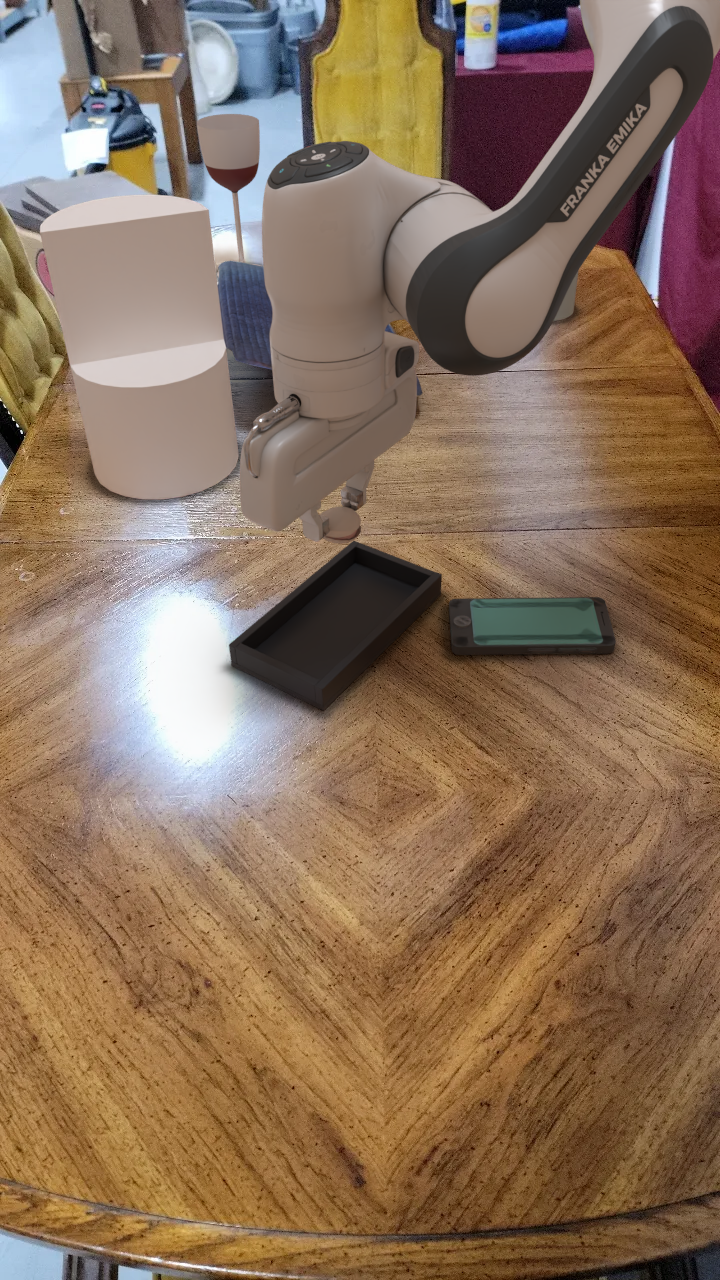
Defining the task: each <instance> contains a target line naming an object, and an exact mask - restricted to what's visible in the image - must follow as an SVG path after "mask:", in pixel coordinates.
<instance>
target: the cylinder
mask: <svg viewBox="0 0 720 1280" xmlns="http://www.w3.org/2000/svg"><path fill="white" fill-rule="evenodd" d="M211 226H212V225H211V218H210V209H209V208H208V207H206V206H204V205H203V204H202V203H201V202H198V201H194V200H192V199H189V198H184V197H179V196H174V195H166V194H165V195H163V194H126V195H116V196H108V197H103V198H96V199H91V200H87V201H85V202H79V203H76V204H72V205H70V206H67V207H65V208H62V209H60V210H57V211H56V212H54V213H52V214H51V215H49V216H47V217H46V218H45V219H44V220H43V222H42V223H41V224H40V225H39V236H40V239H41V244H42V249H43V253H44V257H45V262H46V265H47V270H48V274H49V279H50V284H51V287H52V293H53V297H54V301H55V305H56V310H57V314H58V318H59V322H60V327H61V331H62V332H61V333H62V336H63V340H64V345H65V349H66V353H67V354H66V355H67V358H68V363H69V367H70V371H71V376H72V380H73V384H74V385H73V386H74V388H75V394H76V397H77V402H78V406H79V410H80V416H81V419H82V423H83V429H84V434H85V437H86V441H87V446H88V450H89V456H90V459H91V464H92V467H93V472H94V476H95V477H96V479H97V481H98V482H99V484H100V485H101V486H103V487H104V488H105V489H107V491H110V492H111V493H114V494H117V495H120V496H123V497H126V498H133V499H139V500H168V499H174V498H175V499H176V498H183V497H186V496H189V495H193V494H197V493H201V492H203V491H205V490H207V489H209V488H211V487H214V486H216V485H217V484H219V483H220V482H222V481H223V480H225V479H226V478H227V477H228V476H230V475H231V473H232V472H233V471H234V470H235V468H236V467H237V464H238V460H239V457H240V456H239V455H240V454H239V446H238V437H237V429H236V421H235V412H234V405H233V404H234V403H233V396H232V395H233V394H232V386H231V376H230V369H229V359H228V351H227V348H226V345H225V342H224V336H223V328H222V319H221V311H220V302H219V294H218V276H217V270H216V269H217V268H216V262H215V261H216V260H215V254H214V253H215V252H214V244H213V235H212V227H211Z"/></svg>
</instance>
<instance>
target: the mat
mask: <svg viewBox="0 0 720 1280" xmlns="http://www.w3.org/2000/svg"><path fill="white" fill-rule="evenodd" d="M253 264H254V263H247V262H244V263H243V262H239V261H237V260H236V261H235V260H226V261H223V262H221V263H220V264H218V267H217V269H218V271H219V278H218V277H217V285H218V294H219V302H220V311H221V319H222V328H223V336H224V342H225V345H226V349H227V350H230V351H231V352H232V354H233V357H234V359H235V361H236V362H238V363H243V364H246V365H248V366H249V365H250V366H254V367H259V368H263V369H268V370H272V361H271V350H270V328H271V324H272V316H273V312H272V305H271V301H270V298H269V296H268V293H267V290H266V287H265V280H264V267H263V265H261V266H259V265H260V264H258V265H253ZM385 331H386V332H390V333H393V334H397V332H396V329H394V327H393V326H392V324H391V322H390V323H389V324H388V325H387V327H386V329H385ZM421 395H423V388H422V386H421V382H420V379H419V377H418V376H417V396H418V397H419V396H421Z"/></svg>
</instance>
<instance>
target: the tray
mask: <svg viewBox="0 0 720 1280" xmlns="http://www.w3.org/2000/svg"><path fill="white" fill-rule="evenodd" d="M442 580H443V574H442V573H439V572H437V571H434V570H431V569H429V568H426V567H424V566H422V565H419V564H416V563H413V562H411V561H408V560H405V559H404V558H403V559H402V558H400V557H398V556H395V555H392V554H390V553H387V552H384V551H383V550H379V549H377V548H375V547H372V546H369V545H367V544H365V543H362V542H359V541H356V540H353V541H351V542H349V544H347V546H344V548H343V549H341V550H340V551H339V552H338V553H337V554H336V555H334V556H333V557H332V558H330V559H329V560H328V561H327V562H326V563H325V564H324V565H323V566H321V567H320V568H319V569H317V571H315V572H314V573H312V574H311V575H310V576H309V577H308V578H307V579H306V580H304V581H303V582H302V583H301V584H299V586H297V587H295V589H294V590H292V591H291V592H290V593H289V594H288V595H286V596H285V597H284V598H283V599H281V600H280V601H279V602H278V603H277V604H276V605H274V606H273V607H272V608H271V609H269V611H267V612H266V613H265V614H264V615H263V616H261V617H260V618H259V619H258V620H256V621H255V622H253V624H252V625H250V626H249V627H248V628H246V629H245V630H244V631H243V632H242V633H241V634H240V635H238V636H237V637H236V638H234V640H232V641H231V642H229V644H228V649H229V658H230V664H231V665H230V666H231V667H233V668H235V669H237V670H239V671H242V672H243V673H245V674H247V675H250V676H252V677H253V678H255V679H258V680H259V681H262V682H264V683H266V684H268V685H271V686H272V687H274V688H276V689H278V690H281V691H282V692H284V693H287V694H289V695H291V696H292V697H295V698H297V699H299V700H301V701H303V702H305V703H307V704H309V705H311V706H313V707H314V708H317V709H319V710H322V711H325V710H326V709H327V708H328V707H329V706H330V705H331V704H332V703H333V702H334V701H335V700H336V699H337V698H338V697H339V696H340V695H341V694H342V693H343V692H345V690H346V689H347V688H348V687H349V686H350V685H352V683H353V682H354V681H355V680H357V678H358V677H360V675H362V674H363V673H364V671H366V669H368V668H369V667H370V666H371V665H372V664H373V663H374V662H375V661H376V660H377V659H378V658H379V657H380V656H381V655H382V654H383V653H384V652H385V651H386V650H387V649H388V648H389V647H390V646H391V645H392V644H393V643H394V642H395V641H396V640H397V639H398V638H399V637H400V636H401V635H402V634H403V633H404V632H405V631H406V630H407V629H408V628H409V627H410V626H411V625H413V623H414V622H415V621H416V620H417V619H418V618H420V617H421V616H422V615H423V614H424V613H425V612H426V610H428V609H429V608H430V607H431V606H432V605H433V604H434V603H435V602H436V601H437V600H438V599H439V598H440V597H441V596H442V585H443V584H442Z"/></svg>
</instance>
